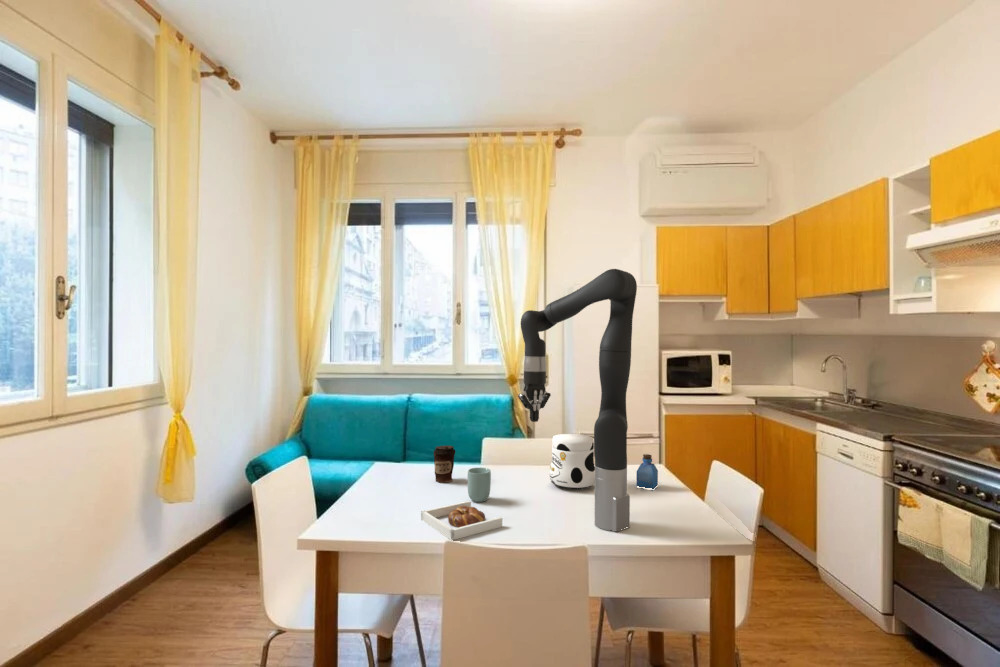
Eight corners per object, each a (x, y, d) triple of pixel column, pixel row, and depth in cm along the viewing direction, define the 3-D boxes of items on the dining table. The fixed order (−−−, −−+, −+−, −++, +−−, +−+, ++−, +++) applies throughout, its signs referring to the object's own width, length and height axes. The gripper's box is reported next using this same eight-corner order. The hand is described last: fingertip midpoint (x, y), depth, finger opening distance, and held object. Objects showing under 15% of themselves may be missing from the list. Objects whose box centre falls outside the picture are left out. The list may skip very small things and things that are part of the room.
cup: (487, 504, 154) (487, 474, 154) (464, 503, 155) (465, 472, 156) (492, 497, 161) (493, 468, 162) (470, 495, 163) (471, 466, 163)
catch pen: (502, 526, 136) (502, 517, 136) (451, 540, 126) (451, 531, 126) (469, 508, 150) (469, 500, 150) (421, 519, 140) (421, 511, 140)
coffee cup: (453, 484, 176) (454, 449, 176) (431, 484, 176) (432, 449, 176) (456, 477, 184) (456, 444, 185) (435, 477, 184) (435, 444, 185)
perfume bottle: (657, 486, 176) (657, 454, 176) (653, 491, 171) (653, 458, 171) (641, 484, 179) (641, 452, 179) (636, 488, 174) (636, 455, 174)
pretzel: (441, 518, 142) (441, 506, 142) (474, 513, 147) (474, 501, 147) (455, 532, 132) (455, 519, 132) (490, 526, 136) (490, 513, 137)
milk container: (539, 485, 175) (540, 437, 176) (566, 476, 188) (566, 431, 188) (579, 496, 163) (579, 444, 164) (604, 485, 176) (605, 437, 177)
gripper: (526, 371, 151) (526, 424, 151) (557, 370, 159) (556, 421, 158) (512, 369, 157) (511, 421, 157) (542, 368, 165) (541, 418, 164)
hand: (534, 421), depth 157 cm, fingers closed
